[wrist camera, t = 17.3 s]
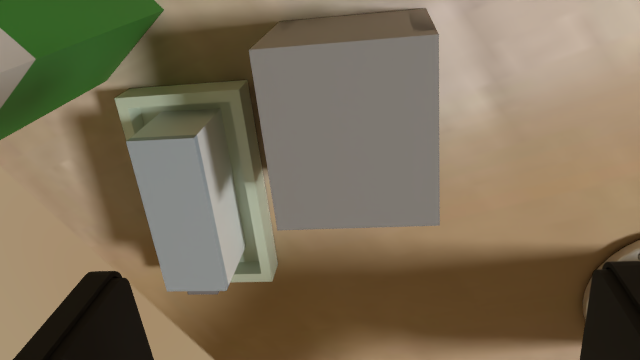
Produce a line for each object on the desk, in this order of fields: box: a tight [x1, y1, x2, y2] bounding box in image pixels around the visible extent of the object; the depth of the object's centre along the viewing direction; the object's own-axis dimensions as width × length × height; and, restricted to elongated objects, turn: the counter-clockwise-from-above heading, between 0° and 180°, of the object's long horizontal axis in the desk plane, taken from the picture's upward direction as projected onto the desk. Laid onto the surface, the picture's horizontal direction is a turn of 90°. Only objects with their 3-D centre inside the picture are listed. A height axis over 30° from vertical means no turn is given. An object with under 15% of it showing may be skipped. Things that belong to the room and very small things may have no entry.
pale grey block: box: [126, 108, 246, 294], centre depth 39 cm, size 5×13×6 cm, turn 5°
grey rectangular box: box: [249, 8, 440, 230], centre depth 34 cm, size 10×11×9 cm
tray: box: [114, 80, 278, 282], centre depth 41 cm, size 9×16×2 cm, turn 6°
